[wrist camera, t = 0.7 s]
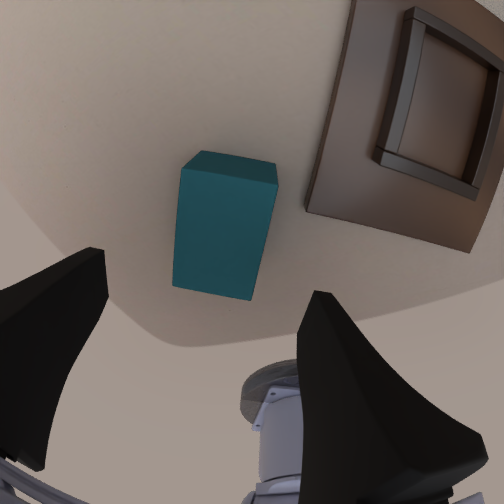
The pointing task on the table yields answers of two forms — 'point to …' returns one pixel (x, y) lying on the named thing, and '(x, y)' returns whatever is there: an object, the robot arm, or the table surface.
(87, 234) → the table surface
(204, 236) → the teal block
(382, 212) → the brown board with frame
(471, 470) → the robot arm
